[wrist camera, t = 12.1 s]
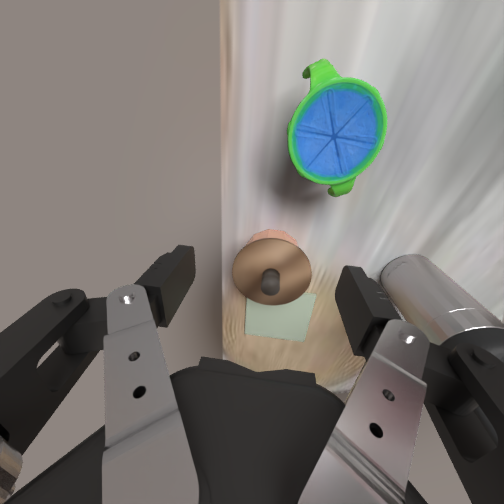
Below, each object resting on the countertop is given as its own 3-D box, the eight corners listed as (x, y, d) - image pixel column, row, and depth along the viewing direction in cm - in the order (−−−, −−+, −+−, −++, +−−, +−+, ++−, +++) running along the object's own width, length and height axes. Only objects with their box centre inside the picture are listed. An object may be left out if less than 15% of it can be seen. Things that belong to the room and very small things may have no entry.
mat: (303, 339, 54) (304, 342, 54) (244, 332, 55) (244, 333, 55) (315, 293, 47) (316, 295, 46) (247, 285, 48) (247, 287, 47)
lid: (328, 268, 36) (333, 284, 32) (277, 313, 42) (277, 331, 38) (263, 221, 33) (260, 233, 30) (219, 277, 40) (212, 292, 36)
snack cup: (276, 85, 30) (274, 65, 21) (356, 58, 28) (391, 23, 19) (294, 194, 37) (298, 213, 28) (359, 179, 35) (386, 195, 26)
